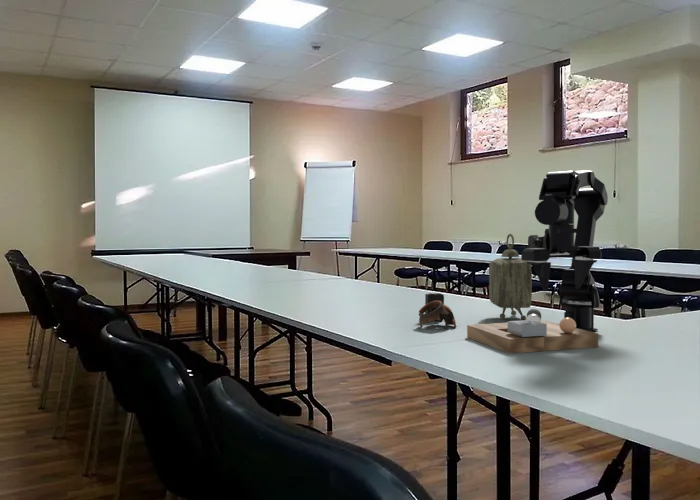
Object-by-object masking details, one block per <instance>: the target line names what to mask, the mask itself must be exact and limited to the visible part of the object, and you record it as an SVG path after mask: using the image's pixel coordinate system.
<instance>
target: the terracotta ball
mask: <svg viewBox="0 0 700 500" xmlns="http://www.w3.org/2000/svg"><path fill="white" fill-rule="evenodd" d="M559 324H560V329H561V330H562V331H563V332H565V333H572V332H573V331H574V330H575V329H576V323H575V321H574V320H573V319H572V318H564V317H563V318H562V319H561V320H560V322H559Z"/></svg>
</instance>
